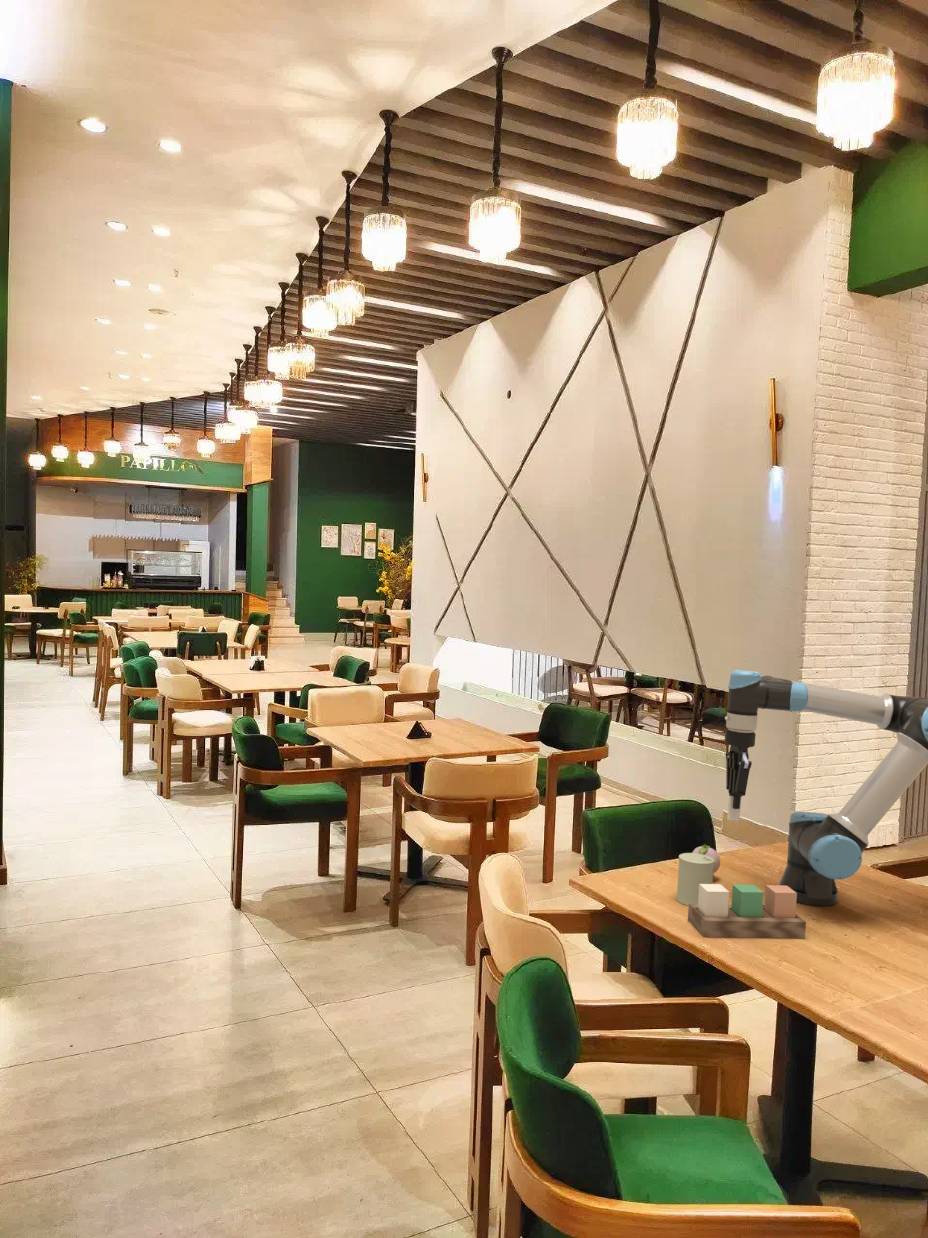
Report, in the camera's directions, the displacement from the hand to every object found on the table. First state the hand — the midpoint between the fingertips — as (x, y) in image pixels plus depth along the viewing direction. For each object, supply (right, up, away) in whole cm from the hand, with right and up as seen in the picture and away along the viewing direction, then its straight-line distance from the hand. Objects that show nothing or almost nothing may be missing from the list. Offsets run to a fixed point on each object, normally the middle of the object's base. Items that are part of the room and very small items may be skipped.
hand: (733, 820), depth 229 cm
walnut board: (-1, -23, -14) cm, 27 cm away
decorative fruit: (-1, -22, +25) cm, 33 cm away
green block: (-1, -20, -14) cm, 25 cm away
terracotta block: (+7, -21, -13) cm, 26 cm away
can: (-9, -23, +5) cm, 25 cm away
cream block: (-10, -20, -15) cm, 27 cm away
